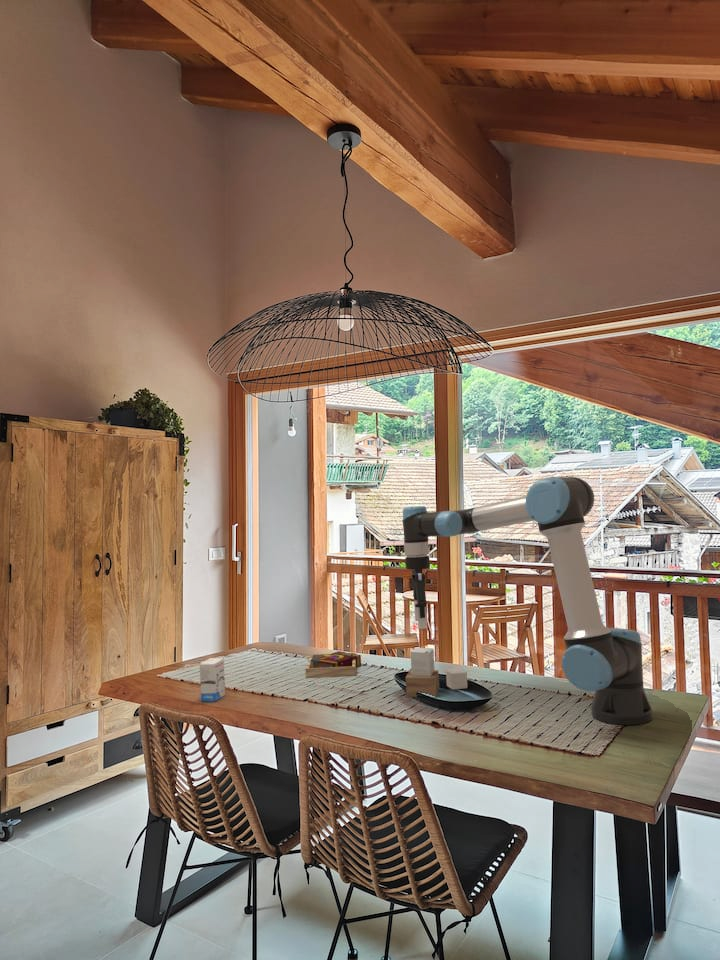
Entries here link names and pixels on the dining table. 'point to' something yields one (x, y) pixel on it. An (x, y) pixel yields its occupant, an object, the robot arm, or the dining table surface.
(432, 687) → the walnut block
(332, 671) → the book frame
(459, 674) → the grey cube
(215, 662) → the ink box
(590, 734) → the dining table surface
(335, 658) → the decorative book
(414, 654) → the skincare box
